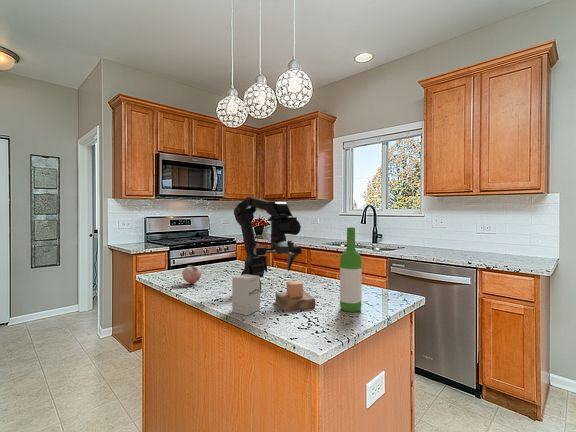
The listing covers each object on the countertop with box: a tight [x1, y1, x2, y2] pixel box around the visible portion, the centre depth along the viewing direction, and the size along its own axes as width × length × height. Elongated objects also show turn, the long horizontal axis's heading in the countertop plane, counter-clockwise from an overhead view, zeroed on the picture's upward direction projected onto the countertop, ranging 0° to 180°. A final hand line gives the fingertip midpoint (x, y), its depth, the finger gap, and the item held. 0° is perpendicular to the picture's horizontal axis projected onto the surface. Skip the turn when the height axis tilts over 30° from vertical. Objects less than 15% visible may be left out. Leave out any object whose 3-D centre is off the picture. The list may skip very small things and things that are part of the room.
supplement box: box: [231, 274, 261, 316], centre depth 115 cm, size 7×7×13 cm
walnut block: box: [275, 290, 316, 312], centre depth 123 cm, size 12×12×4 cm
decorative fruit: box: [181, 264, 203, 285], centre depth 156 cm, size 9×8×10 cm
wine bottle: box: [339, 227, 363, 313], centre depth 117 cm, size 8×8×30 cm
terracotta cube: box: [286, 280, 304, 298], centre depth 123 cm, size 5×5×5 cm
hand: (277, 271), depth 129 cm, fingers open, 9 cm apart
